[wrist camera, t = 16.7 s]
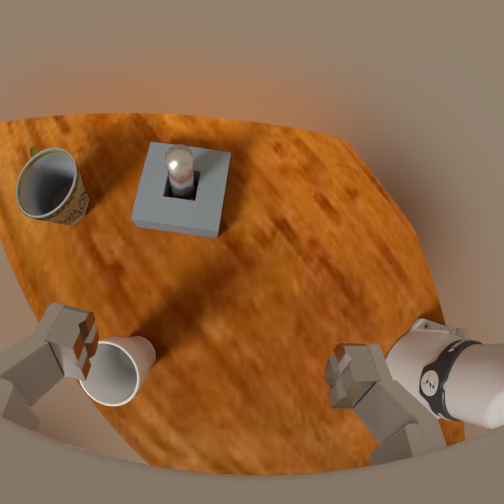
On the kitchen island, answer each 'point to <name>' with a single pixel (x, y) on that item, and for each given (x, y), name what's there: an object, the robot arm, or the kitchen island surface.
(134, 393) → the white tapered cylinder
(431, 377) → the robot arm
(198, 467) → the kitchen island surface
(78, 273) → the kitchen island surface
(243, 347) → the kitchen island surface
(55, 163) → the ceramic cup
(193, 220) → the socket block
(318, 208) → the kitchen island surface
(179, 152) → the steel pin
